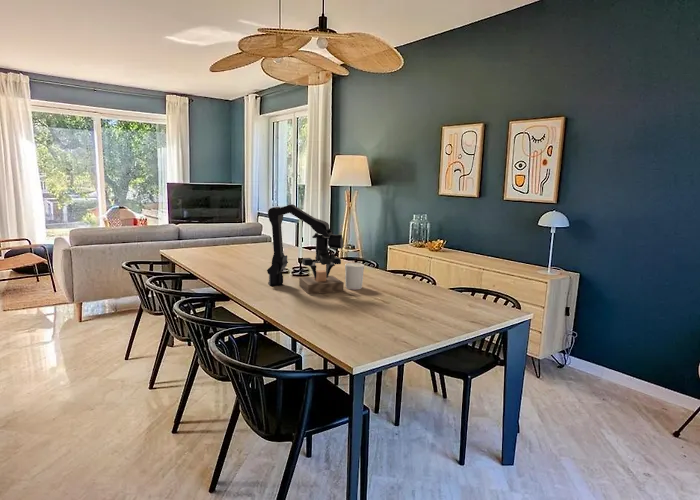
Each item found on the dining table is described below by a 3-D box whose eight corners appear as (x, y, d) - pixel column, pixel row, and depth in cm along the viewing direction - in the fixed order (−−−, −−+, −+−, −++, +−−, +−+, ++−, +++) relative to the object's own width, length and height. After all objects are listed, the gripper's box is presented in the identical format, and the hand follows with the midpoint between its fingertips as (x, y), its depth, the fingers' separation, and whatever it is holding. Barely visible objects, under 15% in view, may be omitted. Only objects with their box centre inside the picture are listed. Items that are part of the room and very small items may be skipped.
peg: (318, 290, 217) (318, 272, 215) (315, 288, 220) (316, 270, 219) (325, 289, 218) (326, 271, 216) (323, 287, 222) (323, 270, 220)
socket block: (308, 294, 208) (308, 284, 208) (299, 285, 223) (299, 277, 222) (343, 291, 215) (343, 282, 214) (332, 283, 230) (332, 275, 229)
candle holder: (340, 288, 222) (341, 265, 220) (349, 284, 230) (350, 262, 228) (357, 291, 217) (358, 267, 215) (366, 287, 226) (367, 264, 224)
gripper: (308, 250, 205) (307, 282, 207) (345, 249, 212) (344, 280, 214) (301, 246, 215) (301, 277, 218) (337, 245, 222) (336, 275, 224)
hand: (321, 278), depth 218 cm, fingers open, 6 cm apart
